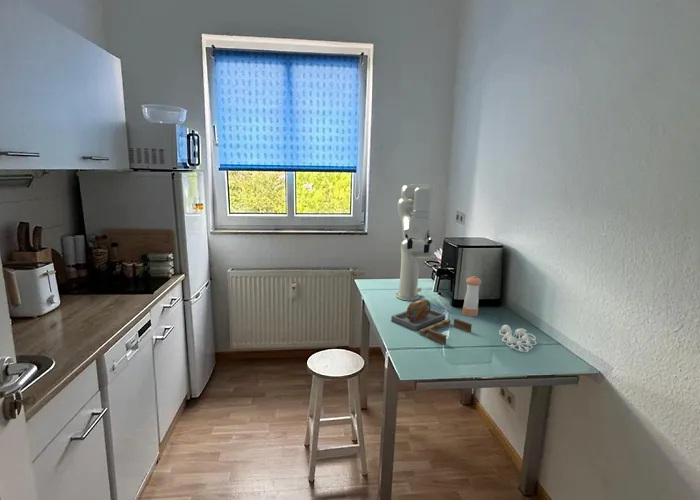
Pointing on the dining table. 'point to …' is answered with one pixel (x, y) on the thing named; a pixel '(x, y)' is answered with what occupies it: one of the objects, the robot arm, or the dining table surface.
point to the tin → (418, 310)
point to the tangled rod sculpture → (512, 340)
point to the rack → (441, 337)
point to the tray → (420, 324)
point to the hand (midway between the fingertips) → (417, 250)
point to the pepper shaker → (471, 297)
